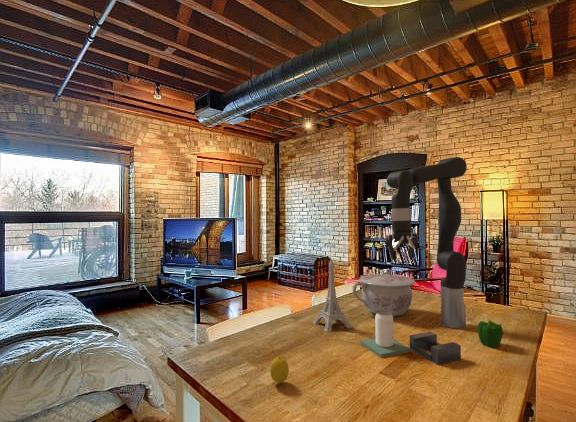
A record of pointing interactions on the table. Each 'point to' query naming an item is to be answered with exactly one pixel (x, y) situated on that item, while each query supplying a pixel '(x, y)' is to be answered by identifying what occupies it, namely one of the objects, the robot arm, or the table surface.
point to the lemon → (279, 369)
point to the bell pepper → (490, 333)
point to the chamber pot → (385, 292)
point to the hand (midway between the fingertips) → (402, 258)
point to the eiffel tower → (331, 305)
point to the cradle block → (435, 348)
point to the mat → (384, 352)
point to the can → (384, 328)
